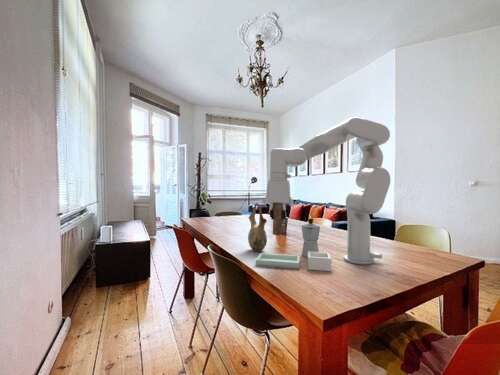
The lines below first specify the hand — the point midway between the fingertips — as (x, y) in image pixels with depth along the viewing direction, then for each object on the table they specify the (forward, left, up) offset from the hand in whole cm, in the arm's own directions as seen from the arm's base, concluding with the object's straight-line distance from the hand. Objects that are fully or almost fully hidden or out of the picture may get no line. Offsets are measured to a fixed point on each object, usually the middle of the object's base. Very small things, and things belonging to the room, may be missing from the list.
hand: (277, 218), depth 108 cm
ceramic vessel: (+13, -19, -20) cm, 30 cm away
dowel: (0, 0, -7) cm, 7 cm away
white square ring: (-17, 0, -19) cm, 26 cm away
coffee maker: (-14, -17, -20) cm, 30 cm away
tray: (0, 0, -19) cm, 20 cm away
